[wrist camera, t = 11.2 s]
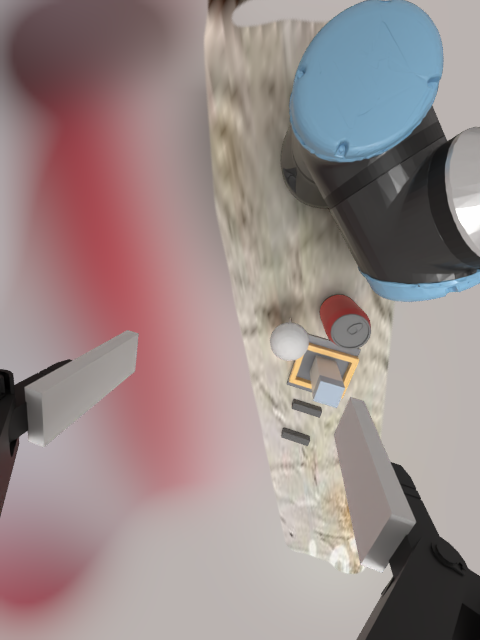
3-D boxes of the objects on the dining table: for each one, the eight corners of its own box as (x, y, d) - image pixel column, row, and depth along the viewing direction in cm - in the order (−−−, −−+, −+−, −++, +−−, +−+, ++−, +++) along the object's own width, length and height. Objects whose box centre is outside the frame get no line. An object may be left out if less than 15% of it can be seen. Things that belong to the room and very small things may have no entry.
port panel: (304, 332, 52) (304, 336, 50) (359, 348, 50) (362, 353, 49) (287, 383, 56) (286, 388, 54) (338, 398, 54) (339, 404, 53)
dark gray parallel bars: (293, 399, 56) (294, 403, 55) (321, 407, 56) (321, 412, 54) (281, 432, 60) (281, 437, 58) (307, 441, 59) (307, 446, 58)
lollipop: (301, 336, 52) (304, 372, 38) (272, 329, 53) (264, 363, 39) (309, 307, 50) (315, 333, 36) (278, 300, 51) (273, 324, 37)
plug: (315, 355, 52) (320, 381, 43) (335, 360, 51) (345, 388, 42) (309, 372, 53) (313, 400, 44) (329, 377, 53) (336, 407, 43)
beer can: (363, 313, 48) (384, 336, 37) (333, 333, 51) (344, 361, 39) (341, 286, 48) (357, 301, 36) (312, 308, 50) (317, 328, 39)
